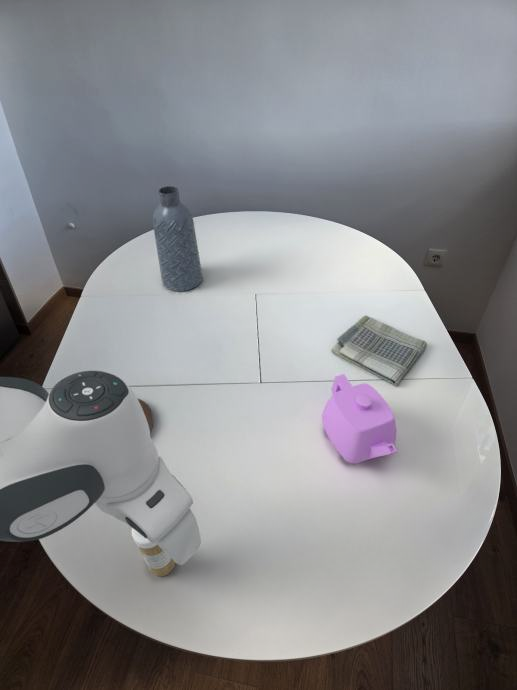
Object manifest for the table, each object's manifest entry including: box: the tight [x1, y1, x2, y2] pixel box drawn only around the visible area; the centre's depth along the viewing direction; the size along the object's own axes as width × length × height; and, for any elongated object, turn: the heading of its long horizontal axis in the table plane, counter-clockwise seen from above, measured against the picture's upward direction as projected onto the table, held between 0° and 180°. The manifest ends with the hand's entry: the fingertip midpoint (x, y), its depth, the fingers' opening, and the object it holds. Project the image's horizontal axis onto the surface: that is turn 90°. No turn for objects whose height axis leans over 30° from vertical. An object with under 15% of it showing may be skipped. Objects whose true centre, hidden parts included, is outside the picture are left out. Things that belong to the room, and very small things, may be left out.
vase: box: [152, 185, 203, 292], centre depth 121 cm, size 12×12×28 cm
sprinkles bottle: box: [131, 527, 176, 577], centre depth 67 cm, size 5×5×14 cm
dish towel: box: [331, 315, 428, 386], centre depth 107 cm, size 19×18×3 cm
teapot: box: [321, 373, 398, 464], centre depth 84 cm, size 20×12×13 cm, turn 22°
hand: (147, 524), depth 62 cm, fingers open, 8 cm apart
